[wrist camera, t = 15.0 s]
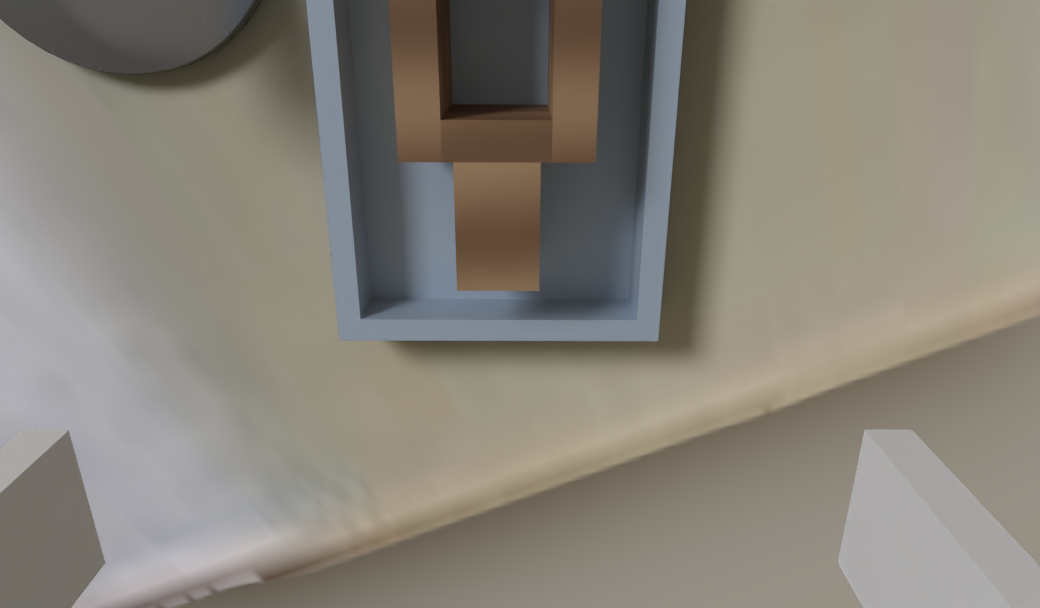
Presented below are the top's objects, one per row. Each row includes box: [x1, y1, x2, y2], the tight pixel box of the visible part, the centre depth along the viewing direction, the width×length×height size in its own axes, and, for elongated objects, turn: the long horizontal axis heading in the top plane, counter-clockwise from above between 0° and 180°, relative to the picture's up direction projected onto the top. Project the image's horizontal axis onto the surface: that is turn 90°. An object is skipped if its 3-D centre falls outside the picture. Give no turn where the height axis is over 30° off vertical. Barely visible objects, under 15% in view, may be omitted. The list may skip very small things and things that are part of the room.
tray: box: [306, 0, 686, 341], centre depth 29 cm, size 14×21×3 cm, turn 0°
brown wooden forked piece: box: [388, 0, 602, 291], centre depth 27 cm, size 16×7×5 cm, turn 0°
